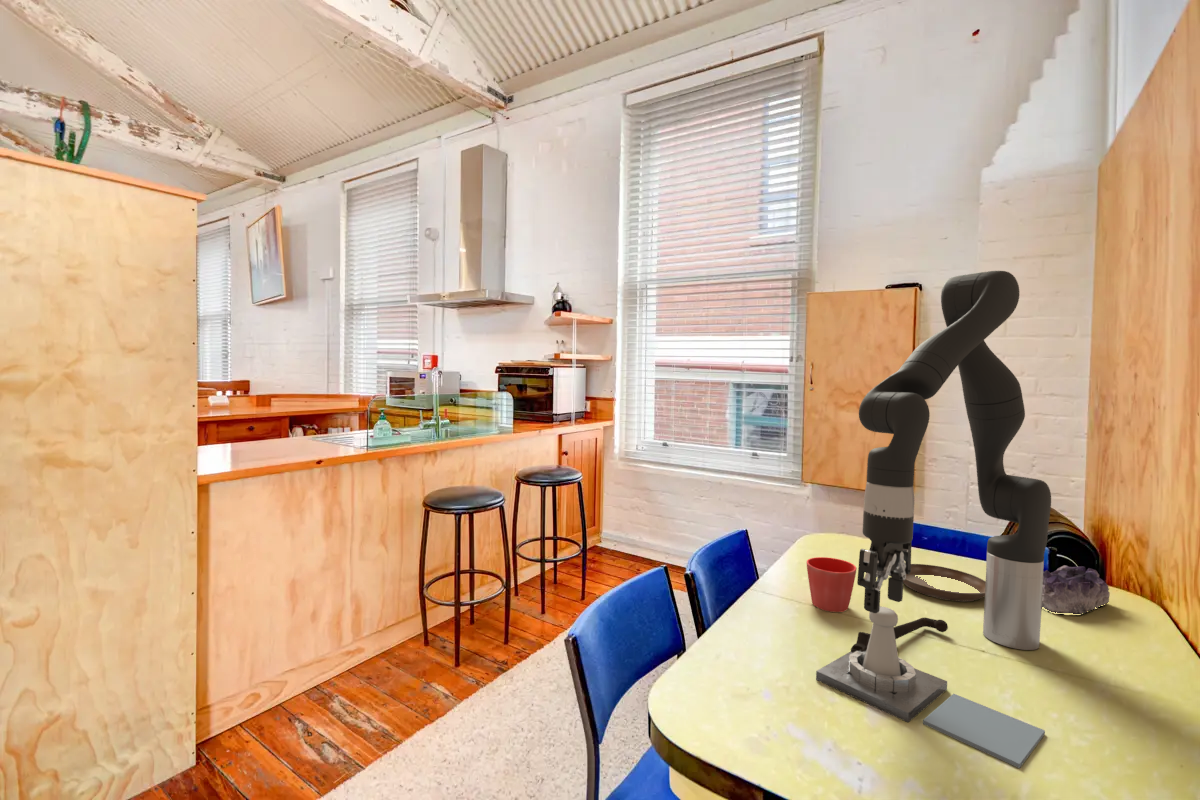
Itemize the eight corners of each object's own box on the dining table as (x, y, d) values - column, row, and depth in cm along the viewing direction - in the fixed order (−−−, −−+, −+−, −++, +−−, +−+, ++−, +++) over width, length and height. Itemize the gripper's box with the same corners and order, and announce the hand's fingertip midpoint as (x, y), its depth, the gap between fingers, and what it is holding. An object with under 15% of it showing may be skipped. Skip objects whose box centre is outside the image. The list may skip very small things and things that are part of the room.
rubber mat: (953, 697, 91) (953, 693, 91) (1044, 734, 82) (1044, 730, 82) (922, 723, 84) (923, 719, 84) (1019, 768, 74) (1019, 763, 74)
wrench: (950, 640, 114) (875, 674, 96) (923, 633, 118) (847, 664, 100) (949, 614, 114) (875, 643, 97) (923, 608, 118) (847, 634, 101)
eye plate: (858, 654, 105) (859, 636, 105) (946, 689, 93) (947, 669, 93) (816, 679, 96) (816, 659, 96) (908, 722, 84) (909, 699, 84)
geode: (1090, 626, 121) (1084, 579, 121) (1027, 614, 131) (1021, 570, 131) (1120, 603, 132) (1114, 561, 133) (1060, 594, 142) (1055, 554, 142)
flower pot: (804, 610, 125) (805, 567, 125) (805, 593, 135) (807, 554, 135) (856, 619, 121) (857, 575, 121) (853, 601, 131) (855, 560, 131)
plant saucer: (988, 586, 144) (989, 573, 144) (993, 613, 127) (993, 599, 126) (898, 570, 155) (898, 558, 155) (891, 593, 138) (891, 579, 138)
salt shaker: (904, 696, 91) (908, 618, 91) (867, 691, 92) (870, 614, 92) (893, 678, 97) (896, 604, 96) (858, 673, 98) (861, 600, 98)
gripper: (892, 520, 86) (887, 624, 87) (929, 510, 95) (925, 603, 96) (845, 511, 92) (840, 607, 93) (884, 501, 101) (880, 590, 101)
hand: (883, 605), depth 94 cm, fingers open, 8 cm apart
